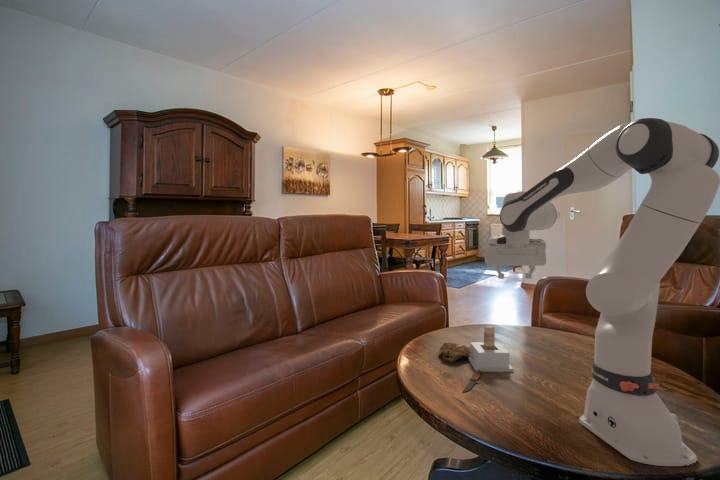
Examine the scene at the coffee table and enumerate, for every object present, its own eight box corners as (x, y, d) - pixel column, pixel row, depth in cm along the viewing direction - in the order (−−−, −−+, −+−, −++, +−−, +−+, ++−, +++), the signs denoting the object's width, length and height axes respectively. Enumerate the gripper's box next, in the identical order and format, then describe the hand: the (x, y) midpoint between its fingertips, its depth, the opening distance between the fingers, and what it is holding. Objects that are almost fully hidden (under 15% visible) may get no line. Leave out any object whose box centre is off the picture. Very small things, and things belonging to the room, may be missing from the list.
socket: (513, 371, 119) (513, 353, 119) (476, 371, 119) (476, 353, 119) (500, 357, 131) (500, 341, 131) (466, 357, 131) (466, 341, 131)
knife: (472, 392, 104) (462, 390, 105) (472, 396, 104) (462, 393, 105) (485, 371, 118) (475, 369, 119) (485, 374, 118) (475, 372, 119)
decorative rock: (471, 367, 124) (470, 353, 139) (471, 356, 124) (471, 342, 138) (436, 362, 127) (440, 349, 142) (437, 351, 127) (440, 338, 142)
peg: (495, 363, 123) (496, 328, 123) (485, 363, 124) (485, 328, 123) (492, 359, 127) (492, 325, 126) (482, 359, 127) (482, 325, 126)
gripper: (541, 238, 129) (540, 276, 130) (483, 238, 130) (483, 277, 131) (550, 239, 123) (549, 279, 124) (489, 239, 123) (488, 280, 124)
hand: (514, 278), depth 127 cm, fingers open, 8 cm apart
